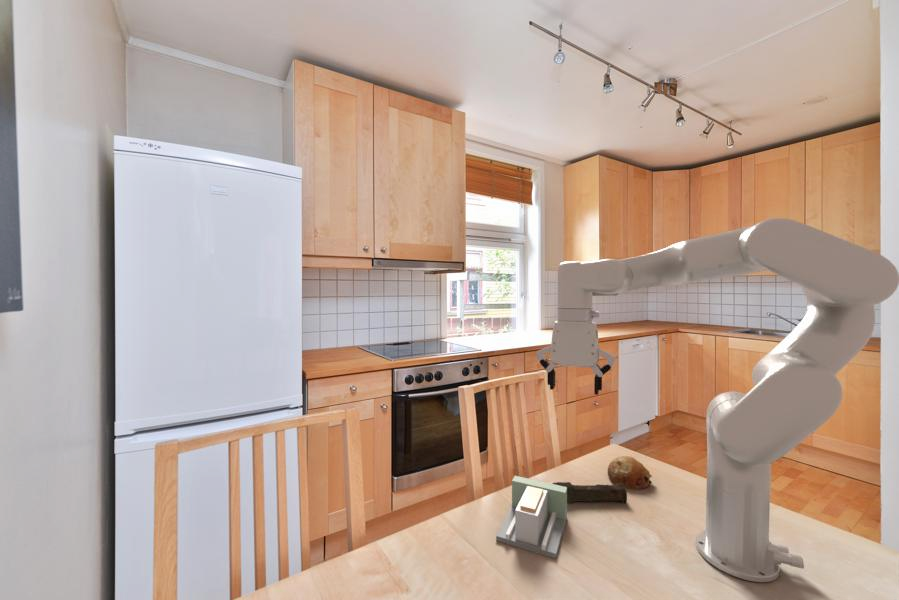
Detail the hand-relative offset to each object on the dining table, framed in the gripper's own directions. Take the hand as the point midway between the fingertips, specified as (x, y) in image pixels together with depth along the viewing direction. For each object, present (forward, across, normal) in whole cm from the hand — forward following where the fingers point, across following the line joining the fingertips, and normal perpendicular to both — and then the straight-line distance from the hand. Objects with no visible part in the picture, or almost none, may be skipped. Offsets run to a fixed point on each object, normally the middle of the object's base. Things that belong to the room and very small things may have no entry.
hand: (574, 390), depth 85 cm
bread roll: (+29, -12, -21) cm, 37 cm away
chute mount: (+28, +7, +10) cm, 31 cm away
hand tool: (+29, -2, -5) cm, 29 cm away
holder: (+27, +7, +11) cm, 30 cm away
